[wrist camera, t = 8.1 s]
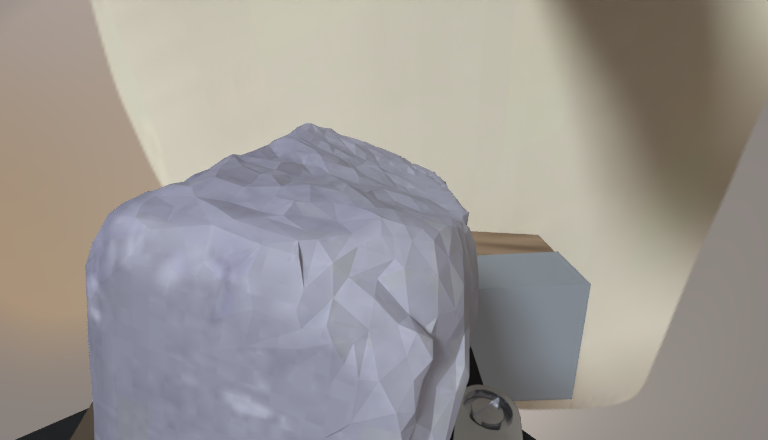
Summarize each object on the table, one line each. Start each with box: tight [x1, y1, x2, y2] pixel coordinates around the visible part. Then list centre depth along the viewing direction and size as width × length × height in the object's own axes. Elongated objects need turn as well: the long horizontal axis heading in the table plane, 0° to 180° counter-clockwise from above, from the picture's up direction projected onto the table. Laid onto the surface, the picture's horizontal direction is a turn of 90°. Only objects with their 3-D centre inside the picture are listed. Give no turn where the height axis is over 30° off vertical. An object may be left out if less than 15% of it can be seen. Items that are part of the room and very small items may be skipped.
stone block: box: [86, 123, 479, 440], centre depth 9 cm, size 12×5×10 cm, turn 166°
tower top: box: [471, 252, 591, 401], centre depth 26 cm, size 9×10×4 cm
